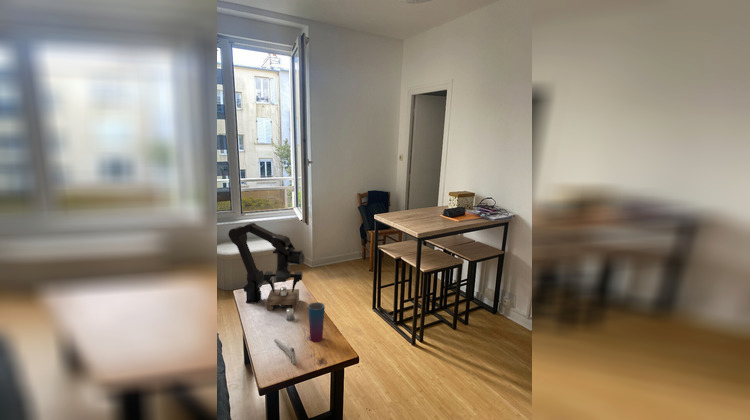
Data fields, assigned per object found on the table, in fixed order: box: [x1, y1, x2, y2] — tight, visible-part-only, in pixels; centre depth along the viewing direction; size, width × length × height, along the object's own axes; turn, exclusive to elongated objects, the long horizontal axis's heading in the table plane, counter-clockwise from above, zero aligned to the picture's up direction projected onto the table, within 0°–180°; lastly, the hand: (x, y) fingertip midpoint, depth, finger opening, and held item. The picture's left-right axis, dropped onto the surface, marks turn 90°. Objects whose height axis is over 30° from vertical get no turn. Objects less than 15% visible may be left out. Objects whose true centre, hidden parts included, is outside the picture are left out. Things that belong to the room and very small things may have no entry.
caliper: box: [273, 338, 297, 366], centre depth 145 cm, size 20×1×6 cm, turn 35°
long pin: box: [279, 286, 288, 308], centre depth 185 cm, size 3×3×9 cm
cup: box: [307, 301, 326, 343], centre depth 154 cm, size 7×7×15 cm
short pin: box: [285, 307, 295, 322], centre depth 172 cm, size 3×3×5 cm
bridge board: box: [266, 288, 300, 312], centre depth 186 cm, size 14×12×6 cm
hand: (283, 292), depth 185 cm, fingers open, 9 cm apart
